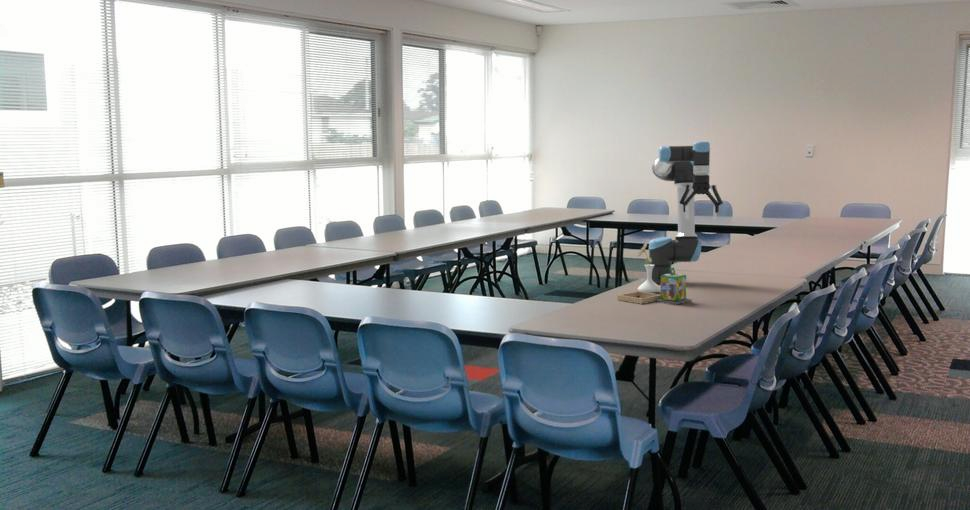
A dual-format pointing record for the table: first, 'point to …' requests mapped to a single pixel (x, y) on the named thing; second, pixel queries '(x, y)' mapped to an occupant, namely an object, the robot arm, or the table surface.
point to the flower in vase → (648, 276)
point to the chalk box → (673, 286)
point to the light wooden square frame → (631, 296)
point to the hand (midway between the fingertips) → (700, 219)
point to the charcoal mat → (673, 301)
